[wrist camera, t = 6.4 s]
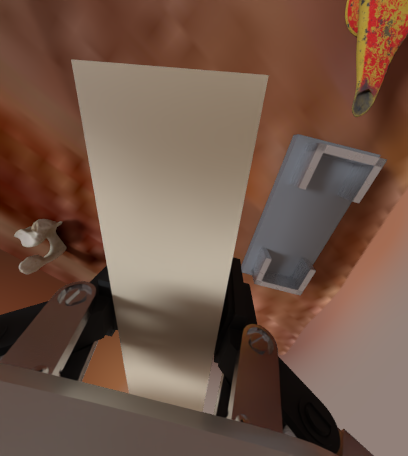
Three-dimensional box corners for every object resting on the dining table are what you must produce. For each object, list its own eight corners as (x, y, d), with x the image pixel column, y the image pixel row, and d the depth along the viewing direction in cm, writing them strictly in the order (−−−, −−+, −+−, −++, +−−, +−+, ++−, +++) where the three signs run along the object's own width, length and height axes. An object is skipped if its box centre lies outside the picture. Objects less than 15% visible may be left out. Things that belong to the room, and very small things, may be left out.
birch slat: (156, 110, 8) (71, 59, 4) (242, 118, 8) (268, 74, 3) (160, 332, 15) (132, 413, 10) (206, 340, 15) (199, 426, 10)
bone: (16, 202, 28) (-17, 241, 21) (66, 206, 31) (52, 241, 24) (25, 243, 32) (0, 287, 25) (69, 243, 35) (58, 283, 28)
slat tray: (293, 135, 22) (298, 134, 20) (370, 154, 22) (380, 155, 20) (241, 266, 30) (241, 272, 29) (295, 280, 30) (299, 286, 29)
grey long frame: (306, 143, 21) (319, 142, 18) (365, 158, 21) (386, 159, 18) (251, 271, 29) (254, 283, 26) (293, 281, 29) (300, 295, 26)
